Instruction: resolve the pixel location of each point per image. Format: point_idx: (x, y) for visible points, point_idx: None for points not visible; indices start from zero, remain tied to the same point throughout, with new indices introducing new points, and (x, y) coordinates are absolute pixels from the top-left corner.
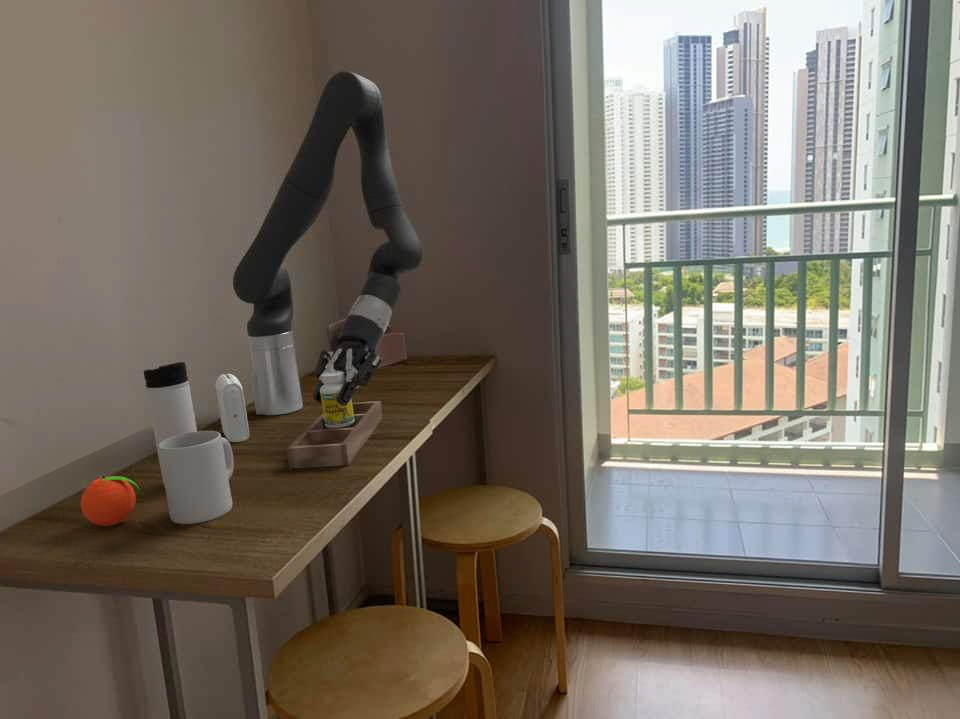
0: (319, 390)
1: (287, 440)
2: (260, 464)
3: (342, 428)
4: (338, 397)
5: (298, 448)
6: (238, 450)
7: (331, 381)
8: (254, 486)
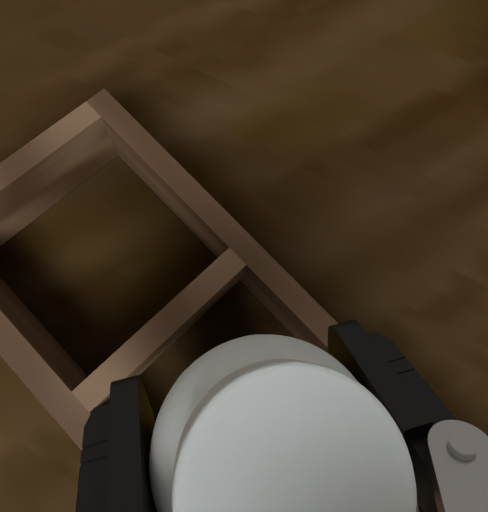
0: (357, 367)
1: (424, 281)
2: (249, 106)
3: (130, 365)
4: (126, 388)
5: (69, 116)
6: (451, 134)
7: (201, 401)
8: (80, 10)
